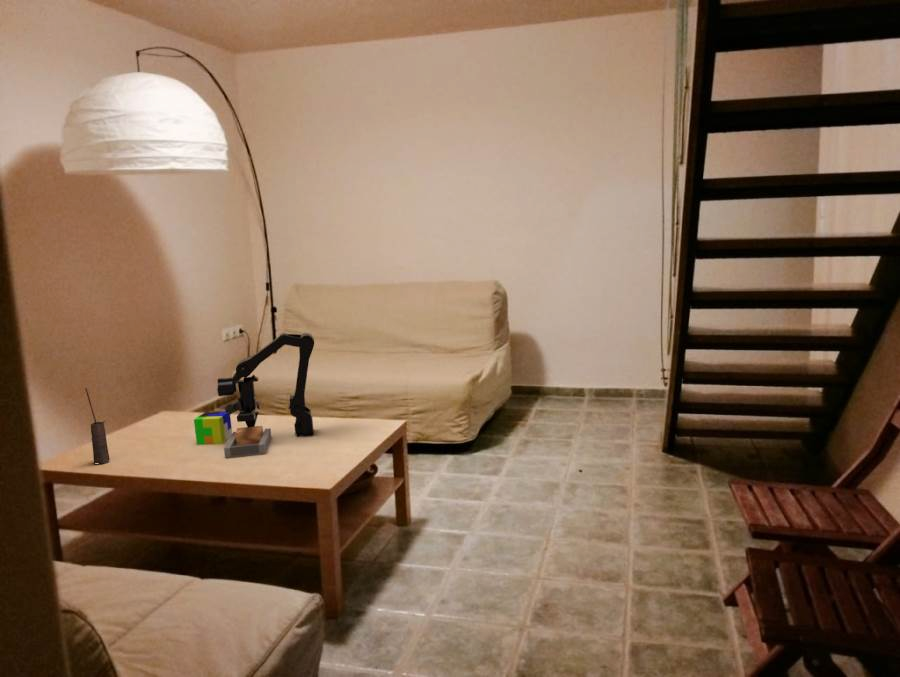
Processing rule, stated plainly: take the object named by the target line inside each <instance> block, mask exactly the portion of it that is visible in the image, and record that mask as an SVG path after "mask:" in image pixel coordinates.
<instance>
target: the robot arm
mask: <svg viewBox="0 0 900 677" xmlns="http://www.w3.org/2000/svg"><path fill="white" fill-rule="evenodd" d="M284 346H291V347H296V348H298V349H299V352H298V353H299V359H298V360H299V361H298V368H297V373H296V374H297V375H296V380H295V382H296V383H295V390H294V393H293V395H292V394H291V395H289V403H288V406H287V407H288V410H289V413H290V415H291V416H292V417H293V418H295V422H294V423H293V424H294V434H295V435H296V437H297V438H298V437H307V436H314V433H315V429H314V420H313V416H312V410H311V409H310V408H309V407H307V406H306V397H305V392H306V384H307V379H308V377H307V376H308V371H309V370H308V369H309V364H310V363H309V362H310V358H311V356H312V352H313V350H314V347H315V338H314V336H313V335H312V334H311V333H308V332H306V333H303V334H297V333H296V334H295V333H293V334H292V333H285V332H282V333H280V334H279V335H278V336H277V337H276V338H274V339H273V340H272V341H271V342H269V343H268V344H267V345H265V346H264V347H263V348H261V349H260V350H258V351H257V352H256V353H254V354H251V355H250V356H247V357H246V358H243V359H241V360H239V361H238V363H237V365H236V368H235V373H234V374H233V376H232V377H218V378H217V389H216V390H217V395H218V397H226V396H227V397H228V396H234V395H235V394H236V393H237V392H238V394H239V397H238V398H237V400H235V401H233V402H230V403H228V404H226V405H225V406H224V410H225V411H224V412H227V414H228V415H230V416H231V415H232V414H233V413H235V412H239V413H238V414H237V416H236V421H237V422H238V423H241V422H245V425H246V427H254V426H256V424H257V420H258V417H259V412H258V411H257V410H261V402H260V401H258V400H257V399H256V397H257V393H255V383H256V382H258V381H259V377H258V376H256V375H255V374H252V373H253V372H254V371H255V370H256V369H257V367H258V366H260V365H261V363H262V362H264V361H266V359H268V358H269V357H271V356H272V355H273V354H274V353H276V352H277V351H279V350H280V349H281V348H283V347H284ZM251 374H252V375H251ZM250 375H251V376H250ZM254 382H255V383H254ZM256 409H257V410H256ZM256 411H257V412H256Z"/></svg>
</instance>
